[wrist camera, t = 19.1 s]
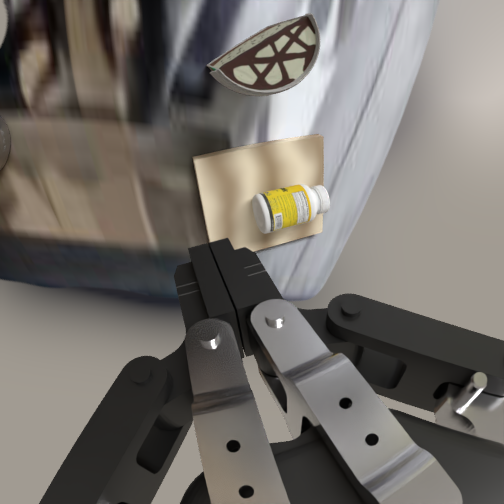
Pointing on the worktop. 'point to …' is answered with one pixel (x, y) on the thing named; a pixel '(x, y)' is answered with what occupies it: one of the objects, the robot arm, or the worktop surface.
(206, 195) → the birch board
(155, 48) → the worktop surface
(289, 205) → the supplement bottle
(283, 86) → the food container
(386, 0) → the worktop surface
